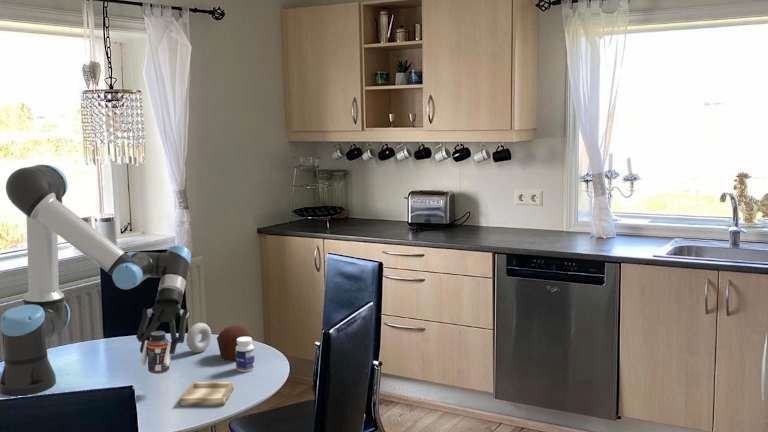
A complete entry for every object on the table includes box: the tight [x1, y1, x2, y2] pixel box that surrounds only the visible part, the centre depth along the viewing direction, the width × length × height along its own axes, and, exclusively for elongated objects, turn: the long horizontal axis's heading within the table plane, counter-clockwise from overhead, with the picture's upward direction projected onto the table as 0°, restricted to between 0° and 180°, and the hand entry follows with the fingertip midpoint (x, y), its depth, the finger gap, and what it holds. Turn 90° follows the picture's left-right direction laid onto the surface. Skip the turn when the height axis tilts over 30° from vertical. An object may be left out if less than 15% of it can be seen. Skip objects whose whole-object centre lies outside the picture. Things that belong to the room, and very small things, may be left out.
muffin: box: [216, 325, 252, 362], centre depth 248 cm, size 12×11×10 cm
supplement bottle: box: [147, 330, 170, 375], centre depth 216 cm, size 6×6×11 cm
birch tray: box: [179, 381, 234, 407], centre depth 214 cm, size 12×12×2 cm
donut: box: [185, 322, 212, 354], centre depth 253 cm, size 10×4×10 cm, turn 146°
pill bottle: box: [235, 336, 256, 373], centre depth 236 cm, size 6×6×10 cm
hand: (154, 363), depth 213 cm, fingers closed on supplement bottle, 6 cm apart
